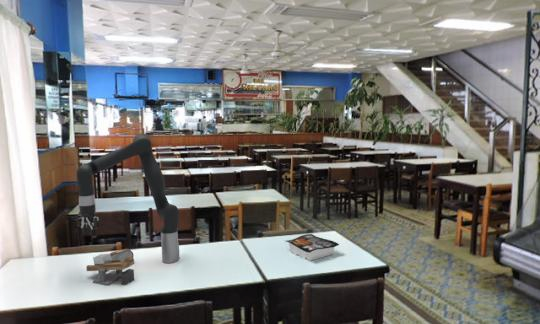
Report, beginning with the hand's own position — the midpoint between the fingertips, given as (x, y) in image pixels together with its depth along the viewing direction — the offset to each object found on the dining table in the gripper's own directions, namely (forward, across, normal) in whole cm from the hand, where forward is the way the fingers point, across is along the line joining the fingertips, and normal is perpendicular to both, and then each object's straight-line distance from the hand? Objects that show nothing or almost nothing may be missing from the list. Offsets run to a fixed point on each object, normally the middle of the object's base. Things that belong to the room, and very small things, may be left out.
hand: (89, 235), depth 199 cm
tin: (+22, -4, -16) cm, 27 cm away
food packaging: (+22, -98, -73) cm, 124 cm away
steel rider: (+15, -9, 0) cm, 17 cm away
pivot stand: (+21, -17, 0) cm, 28 cm away
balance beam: (+15, -14, 0) cm, 21 cm away
